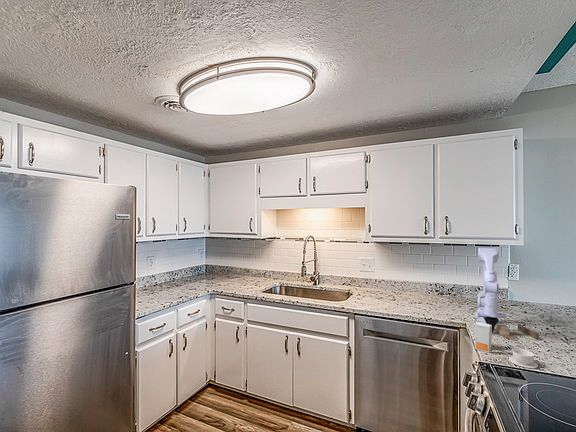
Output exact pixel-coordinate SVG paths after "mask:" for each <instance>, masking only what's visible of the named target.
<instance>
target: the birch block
mask: <svg viewBox="0 0 576 432" xmlns="http://www.w3.org/2000/svg"><path fill="white" fill-rule="evenodd" d="M495 329H496V332H497V333H496V332H495V333H496V334H498V333H499V334H500V335H499V334H498V335H499V336H501V335H509V332H510V327H509V326H507V325H506V324H499V323H497V324H496V326H495Z"/></svg>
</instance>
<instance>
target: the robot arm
mask: <svg viewBox="0 0 576 432" xmlns="http://www.w3.org/2000/svg"><path fill="white" fill-rule="evenodd" d="M477 257H478V262H479V263H481V264H482V267H483V268H482V269H483V270H482V272H483V273H482V275H483V276H482V278H483V279H482V280H483V281H482V282H483V288H482V289H483V290H482V291H480V292H479V293H478V294H477V309H476V312H475V317H476V320H475V321H476V322H479V321H480V323H486V324H490V325H492V333H494V329H496V324H498V323H499V319H508V318H507V317H508V315H507V314H506V313H499V311H498V310H499V295H498V294H499V293H500V283H499V281H498V276H497V275H498V273H497V271H495V270H494V268H495V264H497V263H498V262H499V259H500V251H499V248H498V247H497V248H495V247H493V248H491V247H478V248H477Z"/></svg>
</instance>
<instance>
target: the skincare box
mask: <svg viewBox="0 0 576 432" xmlns="http://www.w3.org/2000/svg"><path fill="white" fill-rule="evenodd" d="M492 334H493V332H492V325H490V324H486V323H482V322H481V321H480V322H479V321H476V323H474V350H477V351H481V352H485V353H487V354H490V352H491V351H492V341H493V340H492V338H493V337H492V336H493V335H492Z"/></svg>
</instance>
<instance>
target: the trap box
mask: <svg viewBox="0 0 576 432" xmlns="http://www.w3.org/2000/svg"><path fill="white" fill-rule="evenodd" d="M510 330H511V331H512V332H511V331H509V335H500V334H499V333H497V332H496V328H494V331H493V333H496V334H497V335H499V336H501V337H503V338H504V339H506V340H519V338H517V337H524V338H526V339H527V340H531V341H538V340H539V333H537V332H536V331H534V330H531V329H529V328H527V327H525V326H524V325H522V324H520V323H517V329H515V328H513V329H512V328H511V329H510Z"/></svg>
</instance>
